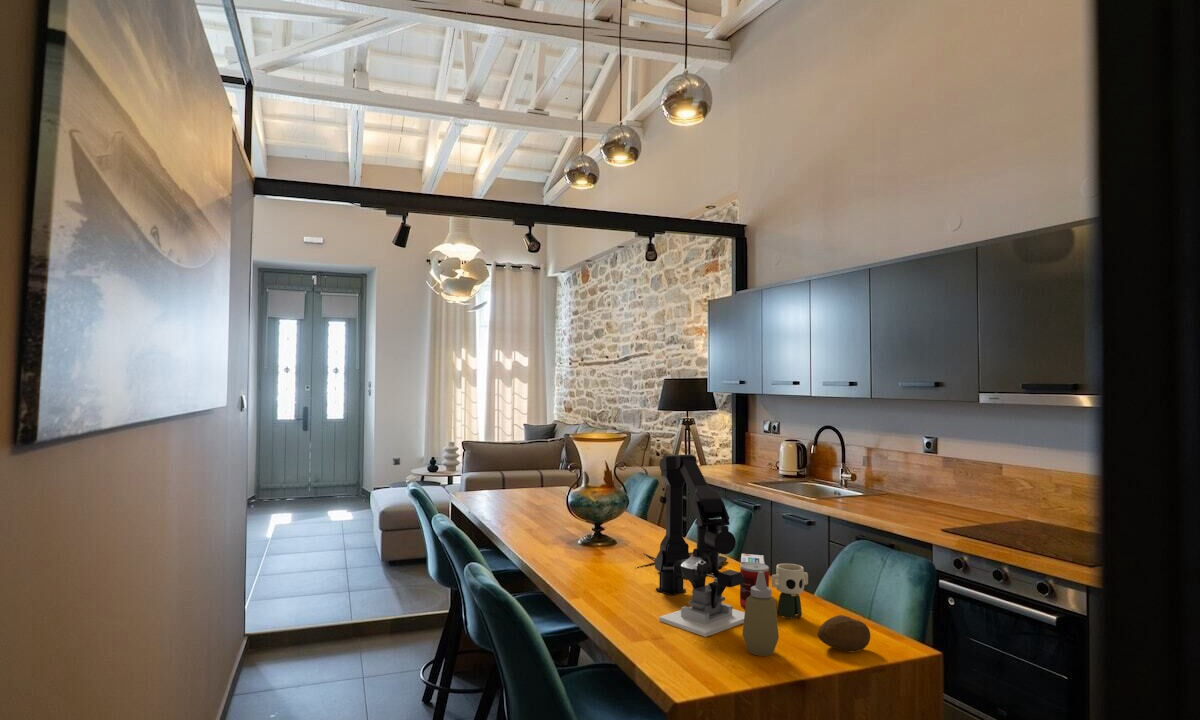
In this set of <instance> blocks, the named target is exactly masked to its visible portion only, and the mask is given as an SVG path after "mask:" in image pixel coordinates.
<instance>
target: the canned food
mask: <svg viewBox="0 0 1200 720" xmlns="http://www.w3.org/2000/svg"><path fill="white" fill-rule="evenodd" d="M739 568H740V570H739V572H741V573H742V575H743V584H740V585H739V604H740V607H741V608H743V609H745V607H746V598H748V597H749V596H750V595H751V587H752V586H756V581H757V577H758V573H759V572H764V575H765V580H766V585H767V587H769V588H770V566H768V565H767V564H766V563H765V564H761V563H744V564H741V563H740V567H739Z"/></svg>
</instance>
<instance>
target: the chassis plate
mask: <svg viewBox="0 0 1200 720" xmlns="http://www.w3.org/2000/svg"><path fill="white" fill-rule="evenodd" d="M744 616H745V611H741V610H738V609H734V608H733V605H731V604H727V603H725V602H722V606H721V612H718V613H715V614H712V615H709V614H708V613H705V612H702V611H699V610H696V609H693V608H692V605H690V606H686V605H684V606H681V608H680V609H679V610H677V611H674V612H673V611H672V612H670V613H666V614H664V615H660V616H658V621H659V622H661V623H665V624H667V625H669V626H673V627H675V628H679V629H682V630H684V631H688V632H689V633H693V634H697V635H699V636H702V637H705V638H706V637H709V636H712V635H714V634H717V633H720V632H723V631H726V630H728V629H730V628H735V626H739V625H741V624H742V625H743V624H744Z"/></svg>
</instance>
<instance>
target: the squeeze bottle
mask: <svg viewBox="0 0 1200 720" xmlns="http://www.w3.org/2000/svg"><path fill="white" fill-rule="evenodd" d="M744 612H745V616H744V623H742V625H743V626H742V637H743V641H744V644H745V647H746V650H747V652H748V653H750V654H751V655H753V656H759V657H767V656H768V657H769V656H771V655H773V654H774V653H775V650H776V646H777V644H778V641H779V638H780V636H779V628H778V627H779V625H778V624H779V623H778V615H777V614H778V613H777V602H776V600H775V598H774V597H772V588H771V587H770V586H769V587H767V585H766V580H765V575H764V572H759V573H758V577H757V581H756V586H752V587H751V595H750V596H749V597H748V598H746V607H745V608H744Z"/></svg>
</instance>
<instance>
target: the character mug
mask: <svg viewBox="0 0 1200 720" xmlns="http://www.w3.org/2000/svg"><path fill="white" fill-rule="evenodd" d="M804 570H805V569H804V567H803V566H802V565H800V564H795V563H778V564H776V569H775V571H776V572H775V573H776V574H772V575H771V587H772V588H776V590H777V591H778V592H780V594H779V597H778V604H777V609H776V613H777V614H778V615H779V616H781V617H782V618H787V619H795V618H796V615H797V618H798V619H799V618H802V616H803V615H802V614H803V613H802V603H801V597H800V595H799V594H802V593H803V592H804V590H805V585H808V584H809V574H808V572H805V571H804Z"/></svg>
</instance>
